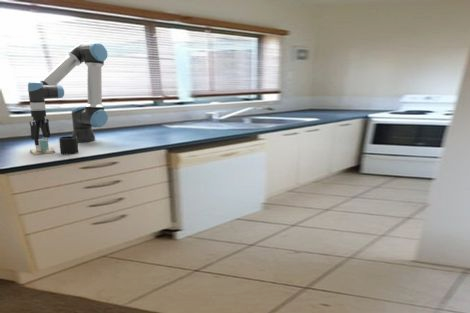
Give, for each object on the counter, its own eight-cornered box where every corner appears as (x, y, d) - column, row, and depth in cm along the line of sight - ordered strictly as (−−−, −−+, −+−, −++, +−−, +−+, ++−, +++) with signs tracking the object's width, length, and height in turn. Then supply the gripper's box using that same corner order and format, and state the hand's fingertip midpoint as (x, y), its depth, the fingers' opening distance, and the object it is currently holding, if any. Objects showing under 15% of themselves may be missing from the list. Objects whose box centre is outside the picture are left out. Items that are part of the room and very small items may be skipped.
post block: (51, 149, 217) (50, 140, 216) (55, 152, 209) (54, 143, 207) (30, 151, 210) (29, 142, 209) (33, 155, 202) (32, 145, 201)
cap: (41, 148, 212) (40, 138, 211) (50, 149, 212) (49, 139, 210) (34, 151, 207) (33, 140, 205) (44, 151, 206) (42, 141, 205)
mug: (70, 149, 217) (69, 135, 215) (81, 152, 210) (80, 137, 208) (55, 152, 210) (53, 137, 208) (65, 155, 203) (64, 139, 200)
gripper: (42, 108, 214) (46, 146, 219) (20, 111, 195) (25, 152, 200) (54, 108, 213) (58, 146, 218) (32, 111, 194) (37, 153, 199)
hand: (42, 149), depth 209 cm, fingers open, 6 cm apart
